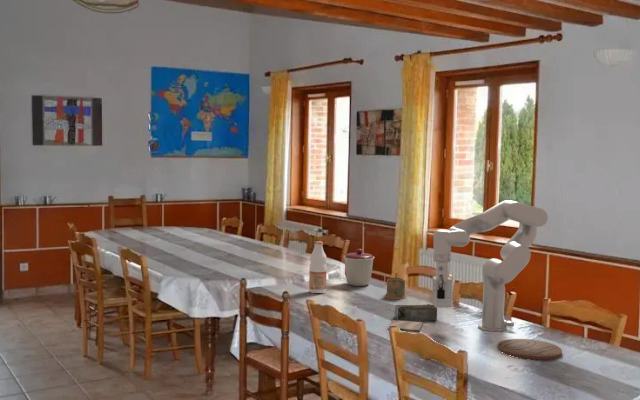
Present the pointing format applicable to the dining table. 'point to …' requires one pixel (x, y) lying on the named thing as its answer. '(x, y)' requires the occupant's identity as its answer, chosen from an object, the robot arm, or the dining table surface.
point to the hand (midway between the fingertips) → (441, 296)
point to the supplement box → (448, 294)
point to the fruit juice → (317, 269)
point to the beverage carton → (416, 312)
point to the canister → (358, 268)
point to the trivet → (530, 349)
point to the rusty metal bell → (395, 288)
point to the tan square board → (407, 325)
